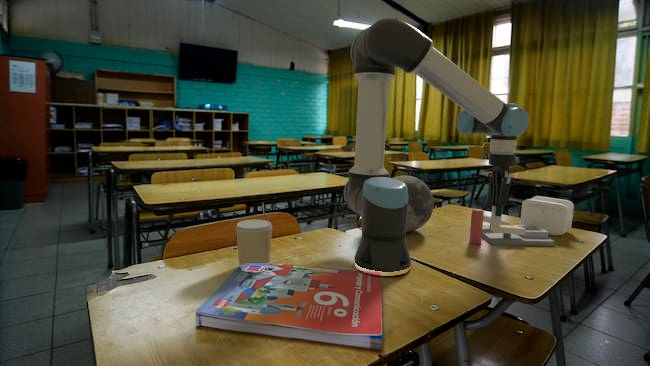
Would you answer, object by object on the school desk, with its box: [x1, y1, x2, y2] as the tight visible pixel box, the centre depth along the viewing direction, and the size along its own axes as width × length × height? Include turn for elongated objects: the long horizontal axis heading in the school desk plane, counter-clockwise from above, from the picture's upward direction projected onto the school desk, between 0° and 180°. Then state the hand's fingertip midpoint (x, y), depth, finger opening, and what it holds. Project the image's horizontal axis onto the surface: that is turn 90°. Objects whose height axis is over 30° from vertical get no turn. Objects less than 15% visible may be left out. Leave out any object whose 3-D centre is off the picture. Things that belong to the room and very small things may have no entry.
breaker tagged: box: [490, 224, 526, 235], centre depth 125 cm, size 10×3×2 cm, turn 89°
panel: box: [482, 223, 556, 247], centre depth 131 cm, size 20×18×4 cm
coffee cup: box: [235, 218, 273, 266], centre depth 100 cm, size 9×9×12 cm
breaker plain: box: [483, 214, 510, 226], centre depth 136 cm, size 10×3×2 cm, turn 90°
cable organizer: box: [519, 195, 575, 236], centre depth 139 cm, size 15×11×12 cm
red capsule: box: [469, 208, 485, 246], centre depth 123 cm, size 4×4×11 cm
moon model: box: [391, 174, 435, 233], centre depth 136 cm, size 20×20×20 cm
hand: (495, 224), depth 125 cm, fingers closed
